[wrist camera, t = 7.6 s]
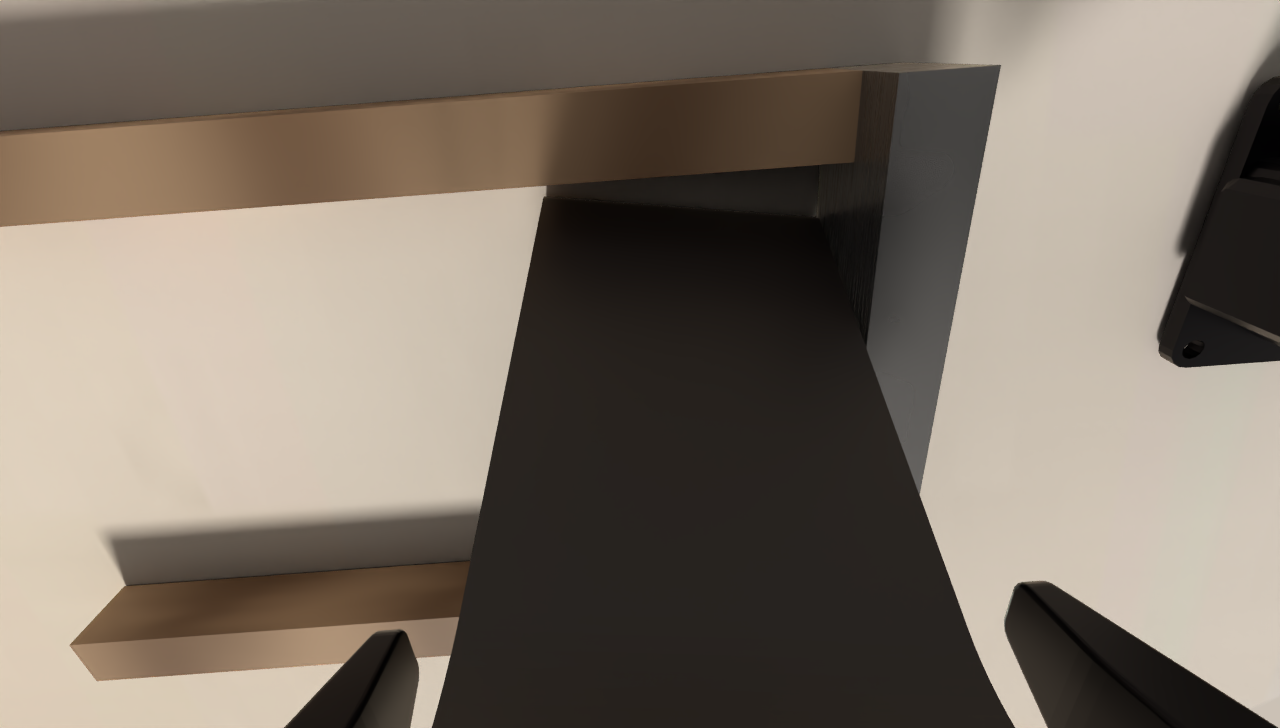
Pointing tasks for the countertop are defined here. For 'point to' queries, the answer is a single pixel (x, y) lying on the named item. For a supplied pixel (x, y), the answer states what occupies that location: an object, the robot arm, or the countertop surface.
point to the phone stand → (701, 498)
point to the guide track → (366, 169)
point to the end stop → (908, 225)
